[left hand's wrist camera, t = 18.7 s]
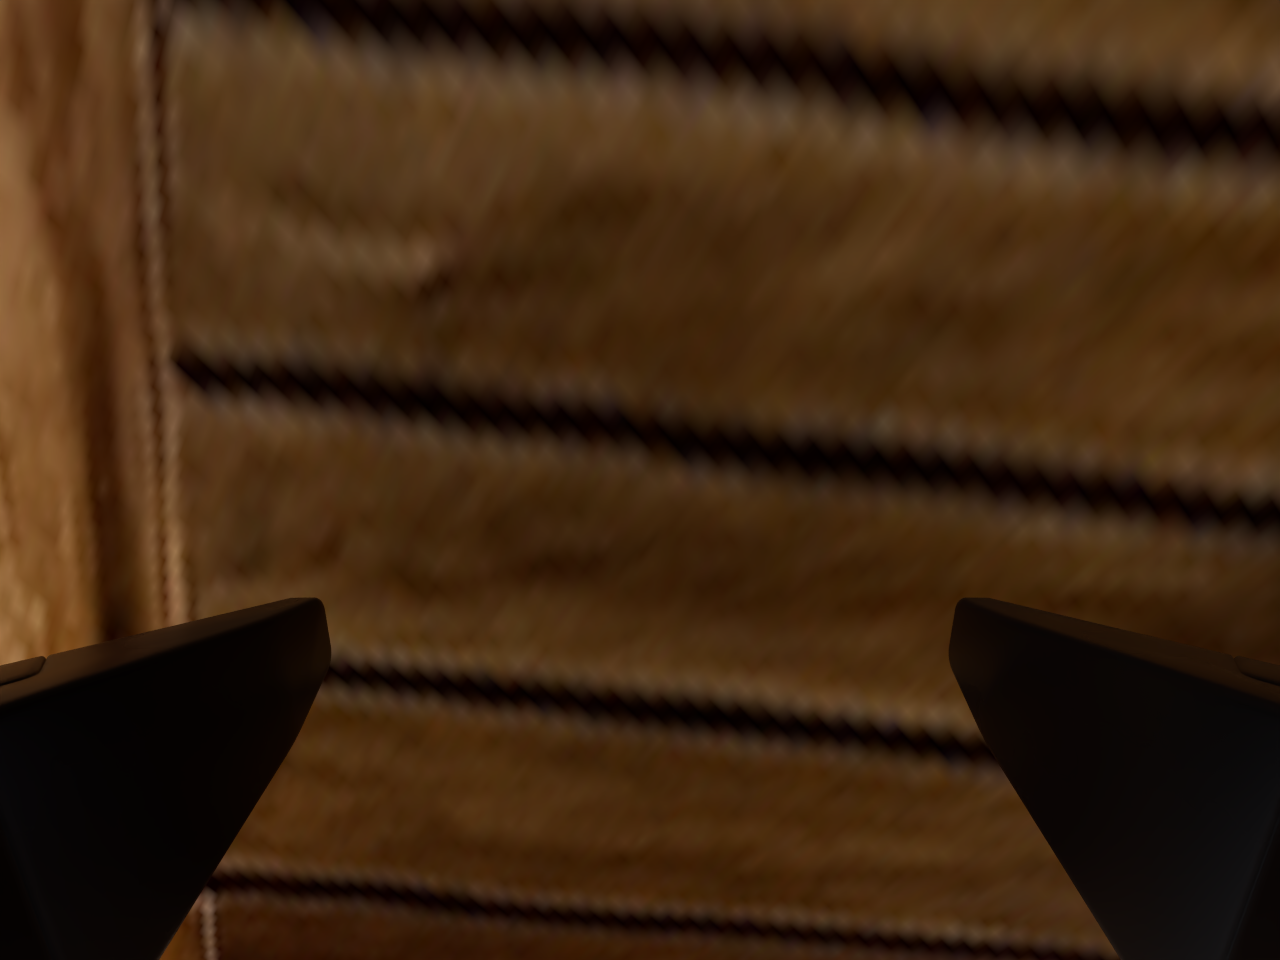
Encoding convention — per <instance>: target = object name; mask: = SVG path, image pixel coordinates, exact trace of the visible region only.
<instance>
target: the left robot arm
mask: <svg viewBox="0 0 1280 960" xmlns="http://www.w3.org/2000/svg"><path fill="white" fill-rule="evenodd" d="M330 661H331V645H330V638H329V632H328V626H327V620H326V614H325V608H324V605H323V603H322V602H321V600H319V599H318V598H289V599H285V600H280V601H276V602H272V603H268V604H264V605H259V606H255V607H251V608H247V609H242V610H238V611H234V612H230V613H226V614H221V615H217V616H213V617H209V618H204V619H200V620H196V621H192V622H188V623H183V624H179V625H175V626H171V627H167V628H162V629H158V630H154V631H150V632H145V633H141V634H137V635H133V636H129V637H124V638H120V639H116V640H112V641H107V642H103V643H99V644H95V645H91V646H86V647H82V648H78V649H74V650H69V651H65V652H61V653H57V654H53V655H49V656H48V657H47V659H46V658H45V657H43V656H40V657H35V658H31V659H27V660H22V661H18V662H14V663H10V664H5V665H1V666H0V960H159V959H160V957H161V956H162V954H163V953H164V951H165V949H166V948H167V946H168V944H169V943H170V941H171V940H172V938H173V936H174V935H175V933H176V932H177V930H178V928H179V927H180V925H181V924H182V922H183V920H184V919H185V917H186V916H187V914H188V912H189V911H190V909H191V908H192V906H193V904H194V903H195V901H196V900H197V898H198V896H199V895H200V893H201V892H202V890H203V888H204V887H205V885H206V884H207V882H208V880H209V879H210V877H211V876H212V874H213V872H214V871H215V869H216V868H217V866H218V864H219V863H220V861H221V860H222V858H223V856H224V855H225V853H226V852H227V850H228V848H229V847H230V845H231V844H232V842H233V840H234V839H235V837H236V836H237V834H238V832H239V831H240V829H241V827H242V826H243V824H244V823H245V821H246V819H247V818H248V816H249V815H250V813H251V811H252V810H253V808H254V807H255V805H256V803H257V802H258V800H259V799H260V797H261V795H262V794H263V792H264V791H265V789H266V787H267V786H268V784H269V783H270V781H271V779H272V778H273V776H274V775H275V773H276V771H277V770H278V768H279V767H280V765H281V763H282V762H283V760H284V759H285V757H286V755H287V754H288V752H289V750H290V749H291V747H292V745H293V743H294V742H295V740H296V738H297V736H298V734H299V732H300V730H301V728H302V726H303V723H304V721H305V719H306V717H307V715H308V712H309V710H310V708H311V706H312V704H313V702H314V699H315V697H316V695H317V693H318V691H319V688H320V686H321V684H322V682H323V680H324V677H325V675H326V673H327V671H328V668H329V665H330ZM949 661H950V665H951V668H952V671H953V673H954V675H955V677H956V680H957V682H958V684H959V686H960V688H961V691H962V693H963V695H964V697H965V699H966V702H967V704H968V706H969V708H970V710H971V712H972V715H973V717H974V719H975V721H976V723H977V726H978V728H979V730H980V732H981V734H982V736H983V738H984V740H985V742H986V743H987V745H988V747H989V749H990V750H991V752H992V754H993V755H994V757H995V759H996V760H997V762H998V763H999V765H1000V767H1001V768H1002V770H1003V771H1004V773H1005V775H1006V776H1007V778H1008V779H1009V781H1010V783H1011V784H1012V786H1013V787H1014V789H1015V791H1016V792H1017V794H1018V795H1019V797H1020V799H1021V800H1022V802H1023V803H1024V805H1025V807H1026V808H1027V810H1028V811H1029V813H1030V815H1031V816H1032V818H1033V819H1034V821H1035V823H1036V824H1037V826H1038V827H1039V829H1040V831H1041V832H1042V834H1043V835H1044V837H1045V839H1046V840H1047V842H1048V843H1049V845H1050V847H1051V848H1052V850H1053V851H1054V853H1055V855H1056V856H1057V858H1058V860H1059V861H1060V863H1061V864H1062V866H1063V868H1064V869H1065V871H1066V872H1067V874H1068V876H1069V877H1070V879H1071V880H1072V882H1073V884H1074V885H1075V887H1076V888H1077V890H1078V892H1079V893H1080V895H1081V896H1082V898H1083V900H1084V901H1085V903H1086V904H1087V906H1088V908H1089V909H1090V911H1091V912H1092V914H1093V916H1094V917H1095V919H1096V920H1097V922H1098V924H1099V925H1100V927H1101V928H1102V930H1103V932H1104V933H1105V935H1106V936H1107V938H1108V940H1109V941H1110V943H1111V944H1112V946H1113V948H1114V949H1115V951H1116V952H1117V954H1118V956H1119V957H1120V959H1121V960H1280V666H1279V665H1275V664H1270V663H1266V662H1262V661H1258V660H1253V659H1249V658H1245V657H1240V656H1237V657H1235V658H1234V659H1233V657H1232V656H1231V655H1228V654H1223V653H1219V652H1215V651H1211V650H1207V649H1202V648H1198V647H1194V646H1190V645H1185V644H1181V643H1177V642H1173V641H1169V640H1164V639H1160V638H1156V637H1152V636H1147V635H1143V634H1139V633H1135V632H1131V631H1126V630H1122V629H1118V628H1114V627H1109V626H1105V625H1101V624H1097V623H1092V622H1088V621H1084V620H1080V619H1076V618H1071V617H1067V616H1063V615H1059V614H1054V613H1050V612H1046V611H1042V610H1038V609H1033V608H1029V607H1025V606H1021V605H1016V604H1012V603H1008V602H1004V601H1000V600H995V599H991V598H962V599H961V600H959V601H958V603H957V605H956V608H955V614H954V620H953V626H952V632H951V638H950V644H949Z"/></svg>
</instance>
